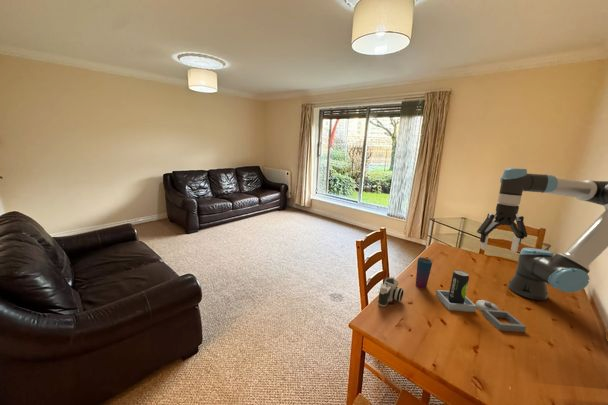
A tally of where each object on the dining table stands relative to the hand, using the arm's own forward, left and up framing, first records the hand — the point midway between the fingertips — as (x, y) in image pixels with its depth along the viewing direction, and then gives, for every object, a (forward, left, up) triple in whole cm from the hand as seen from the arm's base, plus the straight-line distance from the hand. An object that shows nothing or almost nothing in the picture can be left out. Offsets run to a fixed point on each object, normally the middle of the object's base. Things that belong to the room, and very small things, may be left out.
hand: (498, 250), depth 111 cm
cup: (+26, -11, -27) cm, 39 cm away
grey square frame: (+3, +14, -27) cm, 30 cm away
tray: (+16, +2, -27) cm, 31 cm away
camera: (+46, +3, -27) cm, 53 cm away
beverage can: (+16, +2, -26) cm, 31 cm away
